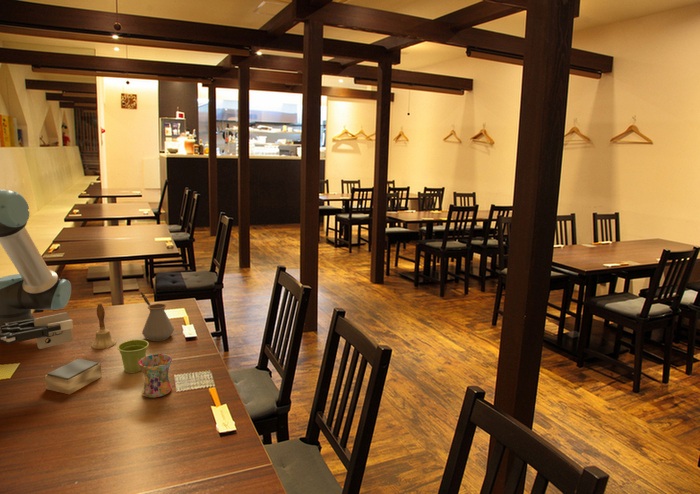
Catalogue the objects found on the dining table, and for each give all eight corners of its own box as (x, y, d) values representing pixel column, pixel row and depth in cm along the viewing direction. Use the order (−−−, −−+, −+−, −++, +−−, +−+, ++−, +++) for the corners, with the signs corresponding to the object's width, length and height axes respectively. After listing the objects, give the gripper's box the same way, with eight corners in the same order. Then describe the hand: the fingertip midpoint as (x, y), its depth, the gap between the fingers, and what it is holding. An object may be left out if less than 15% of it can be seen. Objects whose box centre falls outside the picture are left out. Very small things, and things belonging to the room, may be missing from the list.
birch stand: (79, 372, 153) (78, 357, 152) (101, 376, 151) (100, 362, 150) (46, 389, 142) (44, 373, 141) (69, 394, 140) (67, 379, 139)
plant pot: (152, 362, 162) (150, 338, 160) (147, 374, 153) (145, 350, 151) (122, 364, 160) (121, 340, 158) (116, 377, 151) (114, 352, 149)
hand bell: (100, 350, 170) (96, 309, 166) (86, 345, 174) (82, 304, 170) (120, 343, 177) (118, 303, 173) (107, 338, 181) (104, 298, 177)
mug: (177, 394, 142) (175, 362, 139) (144, 403, 136) (142, 370, 134) (166, 378, 151) (164, 348, 149) (135, 386, 146) (133, 354, 143)
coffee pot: (179, 338, 183) (177, 301, 180) (149, 346, 175) (147, 307, 172) (156, 322, 198) (154, 288, 195) (128, 329, 190) (126, 294, 187)
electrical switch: (38, 350, 140) (35, 320, 138) (33, 345, 143) (30, 316, 141) (73, 341, 147) (70, 313, 145) (67, 337, 150) (64, 309, 148)
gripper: (-24, 341, 139) (66, 324, 154) (-20, 361, 126) (77, 341, 142) (-27, 317, 138) (64, 302, 153) (-24, 335, 125) (75, 318, 140)
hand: (70, 321), depth 147 cm, fingers closed on electrical switch, 4 cm apart
